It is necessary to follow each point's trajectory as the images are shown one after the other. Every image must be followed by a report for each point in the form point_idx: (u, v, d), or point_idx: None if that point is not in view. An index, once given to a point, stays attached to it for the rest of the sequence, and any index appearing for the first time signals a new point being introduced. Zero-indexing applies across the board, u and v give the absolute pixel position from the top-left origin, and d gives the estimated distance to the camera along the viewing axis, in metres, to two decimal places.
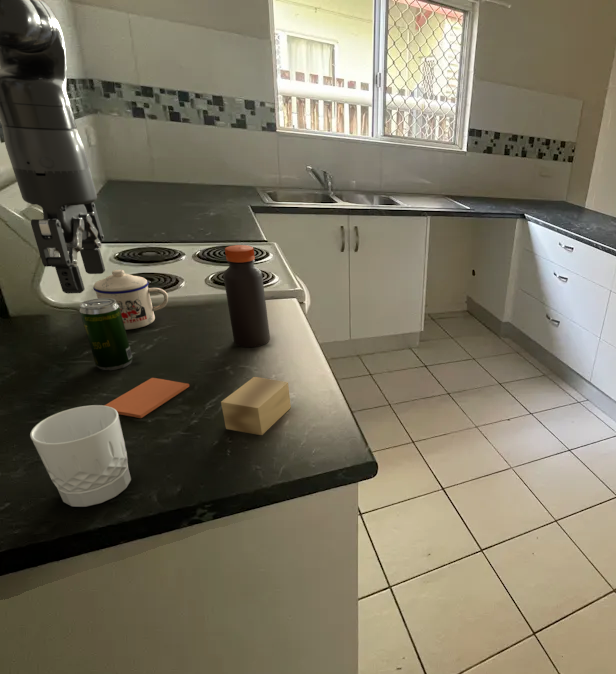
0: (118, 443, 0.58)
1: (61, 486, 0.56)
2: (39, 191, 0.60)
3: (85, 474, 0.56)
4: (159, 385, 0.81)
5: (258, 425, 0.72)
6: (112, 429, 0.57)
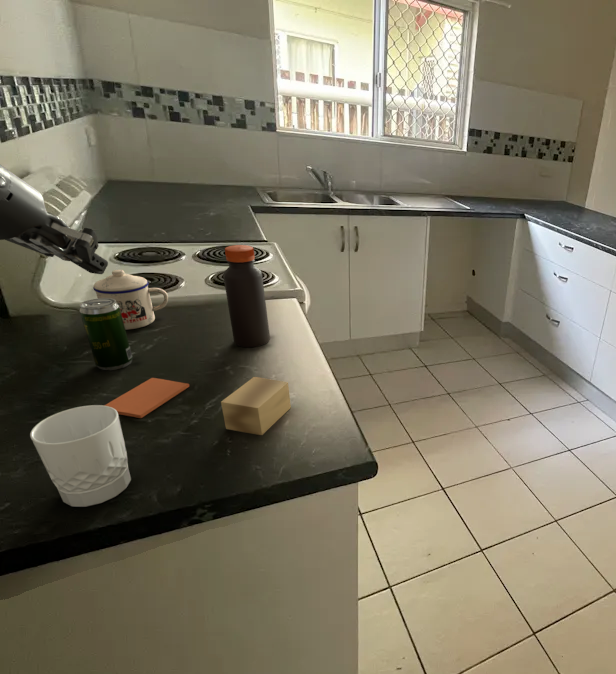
0: (118, 443, 0.58)
1: (61, 486, 0.56)
2: (24, 213, 0.53)
3: (85, 474, 0.56)
4: (159, 385, 0.81)
5: (258, 425, 0.72)
6: (112, 429, 0.57)
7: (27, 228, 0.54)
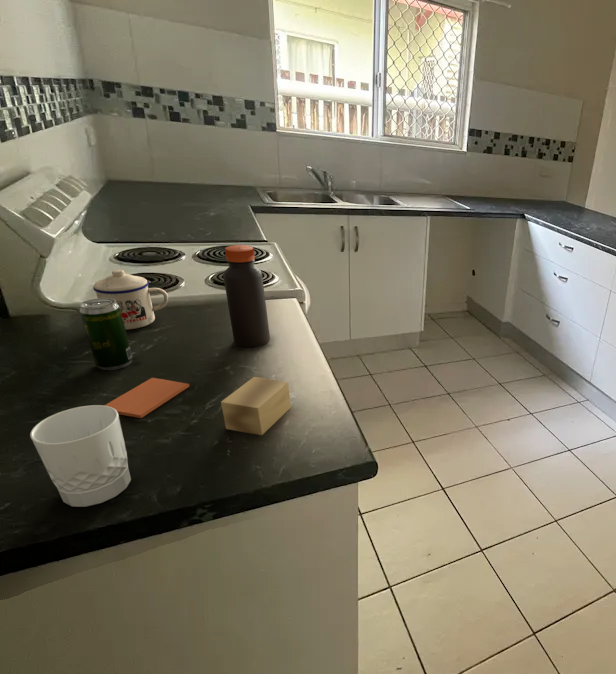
0: (118, 443, 0.58)
1: (61, 486, 0.56)
2: None
3: (85, 474, 0.56)
4: (159, 385, 0.81)
5: (258, 425, 0.72)
6: (112, 429, 0.57)
7: None
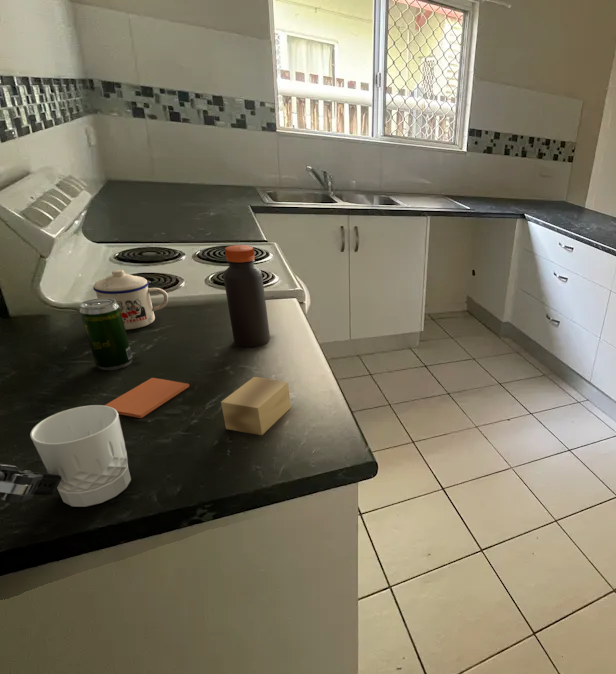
0: (118, 443, 0.58)
1: (61, 486, 0.56)
2: None
3: (85, 474, 0.56)
4: (159, 385, 0.81)
5: (258, 425, 0.72)
6: (112, 429, 0.57)
7: None
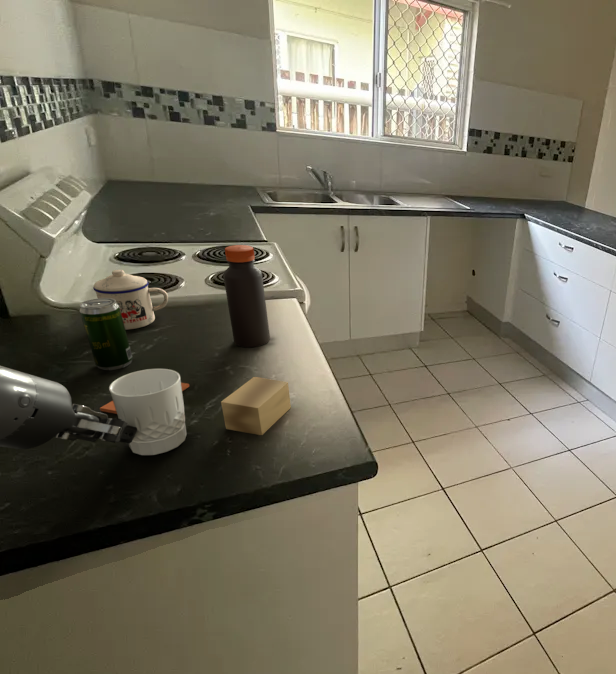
0: (181, 399, 0.67)
1: (134, 436, 0.64)
2: (50, 423, 0.49)
3: (157, 424, 0.65)
4: None
5: (258, 425, 0.72)
6: (178, 386, 0.66)
7: (53, 435, 0.50)
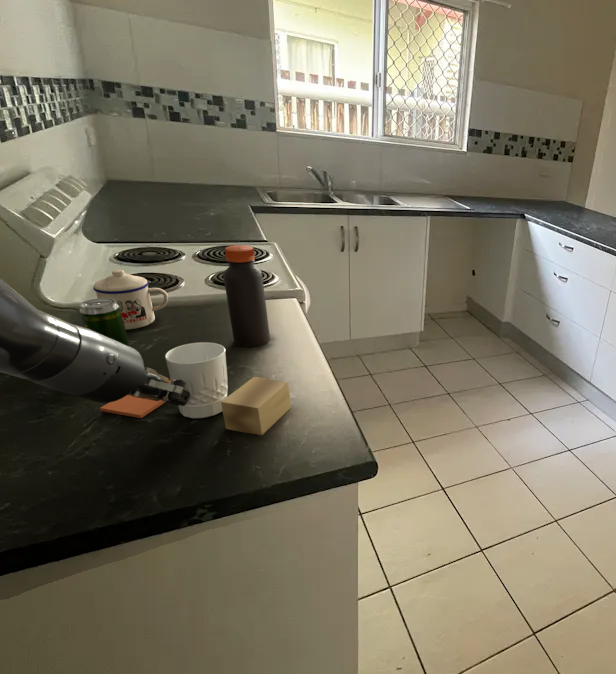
0: (225, 368, 0.76)
1: None
2: (128, 380, 0.58)
3: (207, 390, 0.73)
4: None
5: (258, 425, 0.72)
6: (224, 356, 0.75)
7: (130, 391, 0.59)
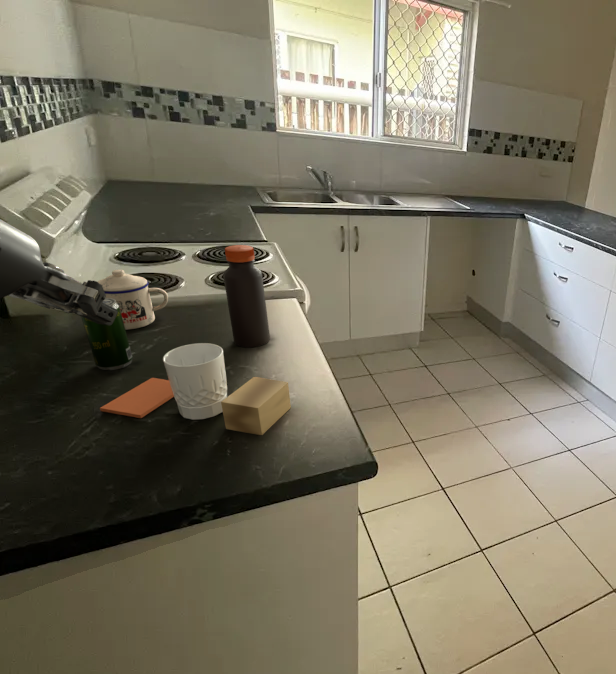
0: (224, 369, 0.76)
1: (186, 402, 0.73)
2: (15, 269, 0.44)
3: (206, 391, 0.73)
4: (159, 385, 0.81)
5: (258, 425, 0.72)
6: (222, 357, 0.74)
7: (19, 286, 0.45)
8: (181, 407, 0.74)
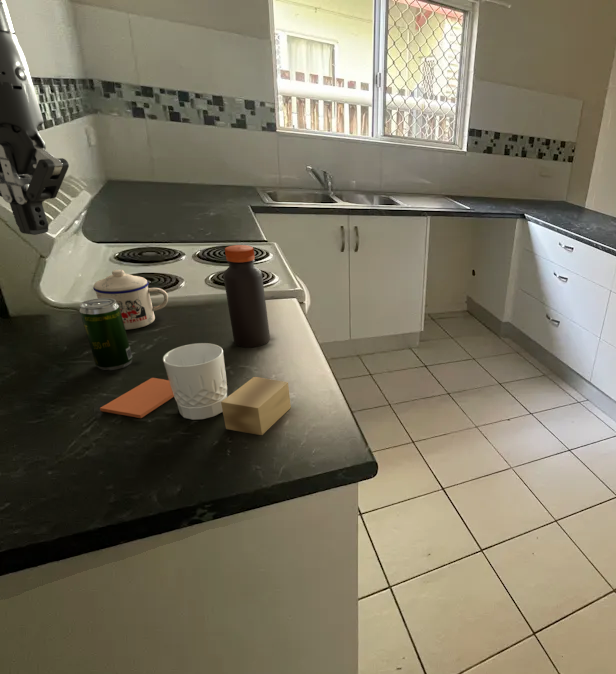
0: (224, 369, 0.76)
1: (186, 402, 0.73)
2: (16, 108, 0.52)
3: (206, 391, 0.73)
4: (159, 385, 0.81)
5: (258, 425, 0.72)
6: (222, 357, 0.74)
7: (6, 121, 0.52)
8: (181, 407, 0.74)
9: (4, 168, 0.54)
